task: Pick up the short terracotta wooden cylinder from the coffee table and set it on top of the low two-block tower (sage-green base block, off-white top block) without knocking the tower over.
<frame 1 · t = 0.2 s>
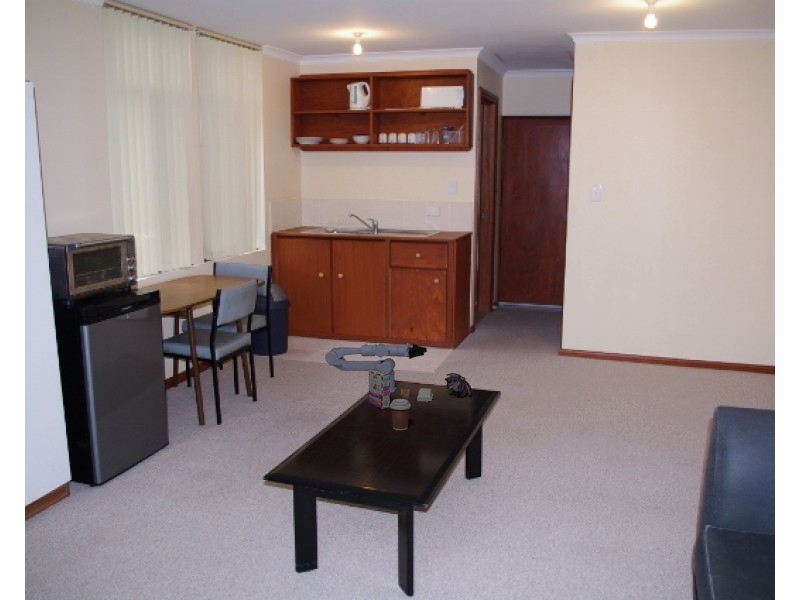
hand: (425, 351, 358), 21 cm above the table, tool horizontal, fingers open, 7 cm apart
terracotta cylinder: (405, 398, 352), on the table
candy bar box: (379, 406, 341), on the table
sage base block: (425, 400, 351), on the table
coffee cup: (400, 428, 311), on the table
off-white top block: (425, 395, 350), point 2 cm above the table
decorative flower: (458, 395, 357), on the table
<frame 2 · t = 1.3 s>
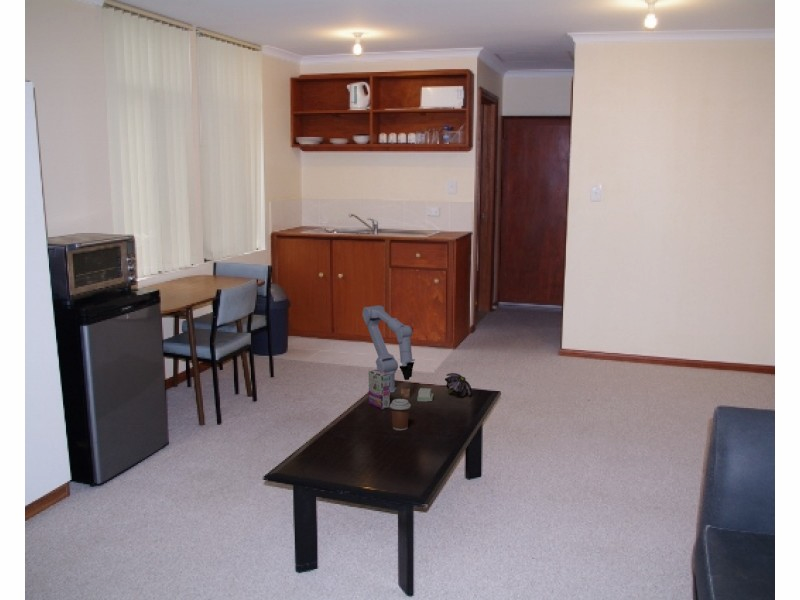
hand: (408, 378, 351), 10 cm above the table, tool pointing down, fingers open, 7 cm apart
sage base block: (425, 400, 351), on the table, touching off-white top block
off-white top block: (424, 395, 351), point 2 cm above the table, touching sage base block
everything else where it was.
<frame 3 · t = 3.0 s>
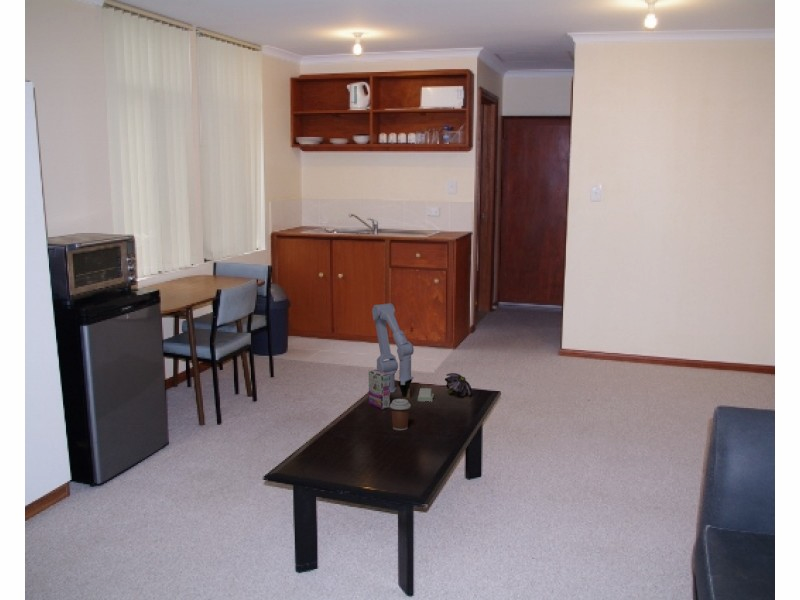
hand: (405, 395, 352), 1 cm above the table, tool pointing down, fingers closed on terracotta cylinder, 4 cm apart
terracotta cylinder: (405, 398, 352), on the table, touching gripper
everything else where it was.
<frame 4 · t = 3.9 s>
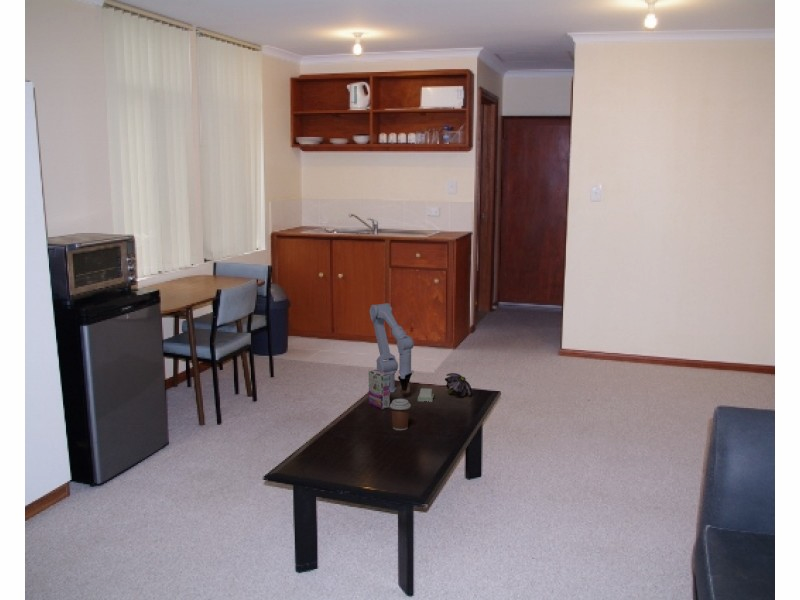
hand: (405, 389, 352), 4 cm above the table, tool pointing down, fingers closed on terracotta cylinder, 4 cm apart
terracotta cylinder: (405, 391, 352), point 3 cm above the table, touching gripper
everything else where it was.
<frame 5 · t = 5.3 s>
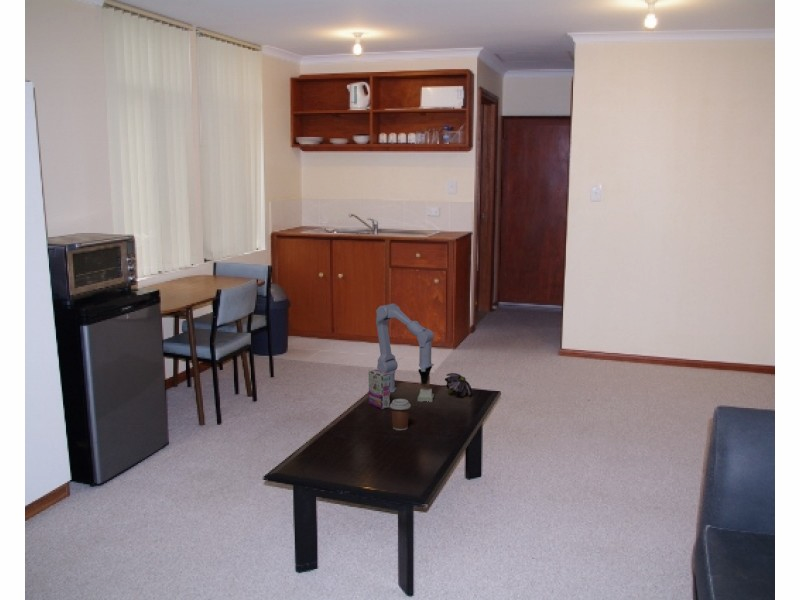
hand: (425, 382, 349), 8 cm above the table, tool pointing down, fingers closed on terracotta cylinder, 4 cm apart
terracotta cylinder: (425, 385, 350), point 7 cm above the table, touching gripper
everything else where it was.
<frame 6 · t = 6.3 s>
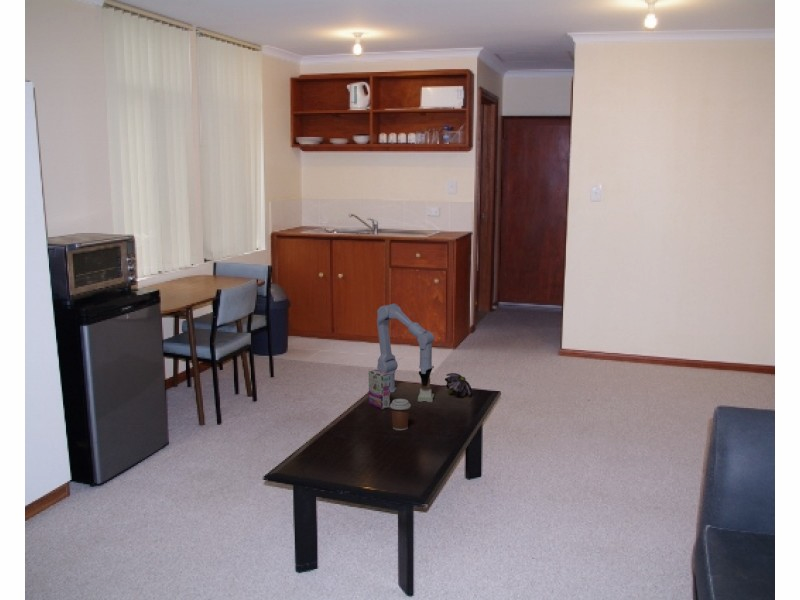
hand: (425, 384, 349), 7 cm above the table, tool pointing down, fingers closed on terracotta cylinder, 4 cm apart
terracotta cylinder: (425, 387, 350), point 6 cm above the table, touching gripper
everything else where it was.
when the fingers open (7 cm above the table, at t = 6.4 s): terracotta cylinder drops 2 cm, resting on off-white top block.
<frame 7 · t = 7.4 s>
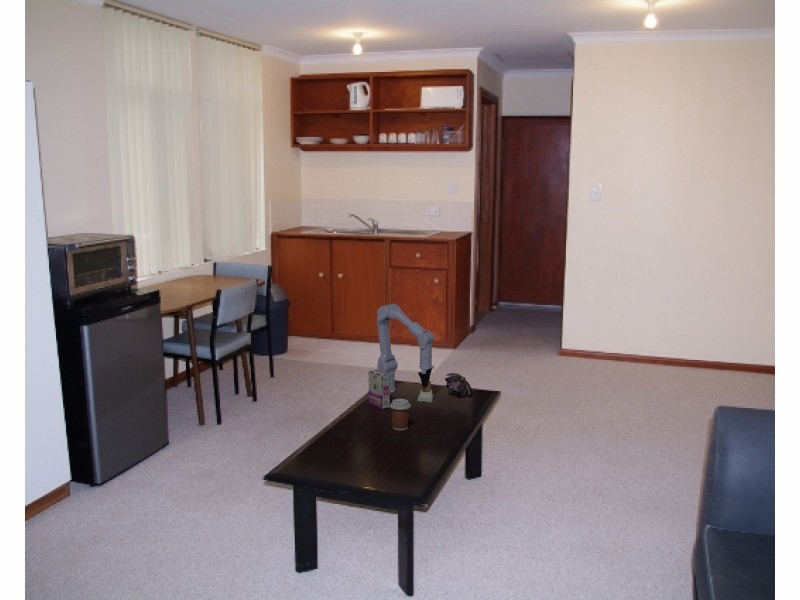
hand: (425, 384, 349), 7 cm above the table, tool pointing down, fingers open, 7 cm apart
terracotta cylinder: (426, 390, 349), point 4 cm above the table, touching off-white top block
off-white top block: (426, 395, 350), point 2 cm above the table, touching sage base block, terracotta cylinder
everything else where it was.
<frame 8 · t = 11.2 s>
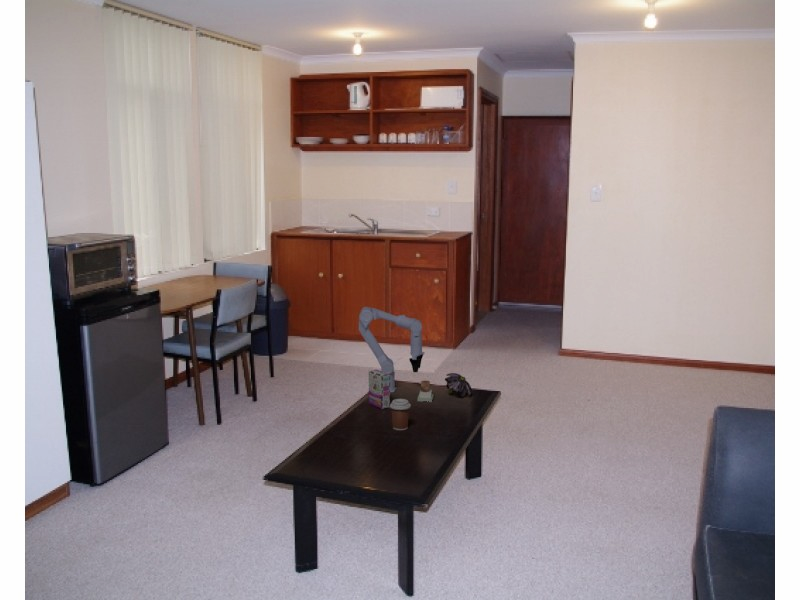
hand: (416, 370, 364), 10 cm above the table, tool pointing down, fingers open, 7 cm apart
nothing on the table moved.
at the end: terracotta cylinder 0.2 cm off-centre on the sage base block, point 5.0 cm above the sage base block's base; off-white top block tilted 0°; sage base block moved 0.7 cm from its start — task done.
